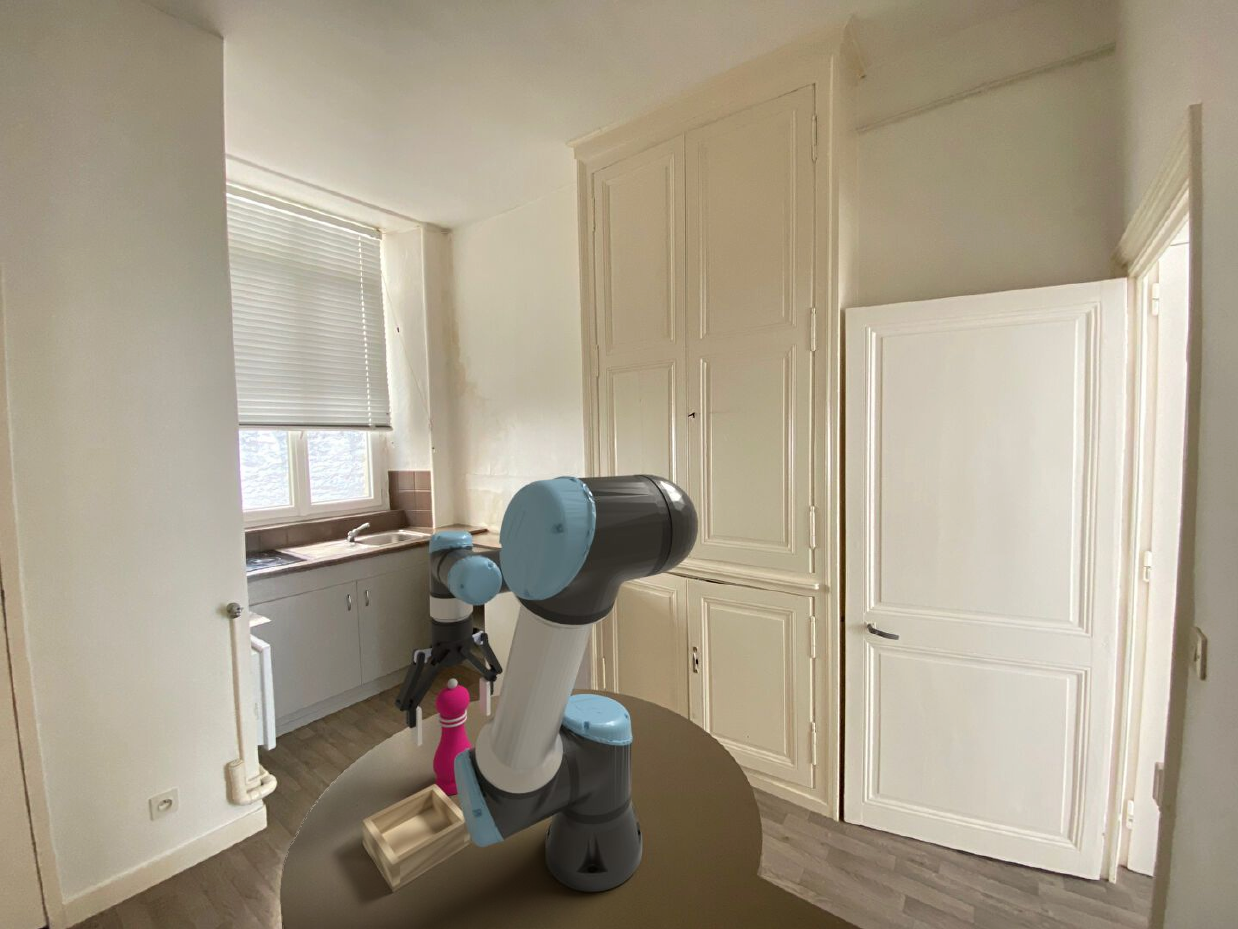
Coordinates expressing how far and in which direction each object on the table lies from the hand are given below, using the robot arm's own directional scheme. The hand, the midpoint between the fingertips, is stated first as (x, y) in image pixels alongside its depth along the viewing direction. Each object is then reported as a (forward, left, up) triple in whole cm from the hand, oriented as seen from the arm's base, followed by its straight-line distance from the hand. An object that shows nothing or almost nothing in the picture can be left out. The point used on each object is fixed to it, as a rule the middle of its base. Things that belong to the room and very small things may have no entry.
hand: (452, 727), depth 93 cm
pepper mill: (0, 0, -11) cm, 11 cm away
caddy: (-9, +11, -11) cm, 18 cm away
